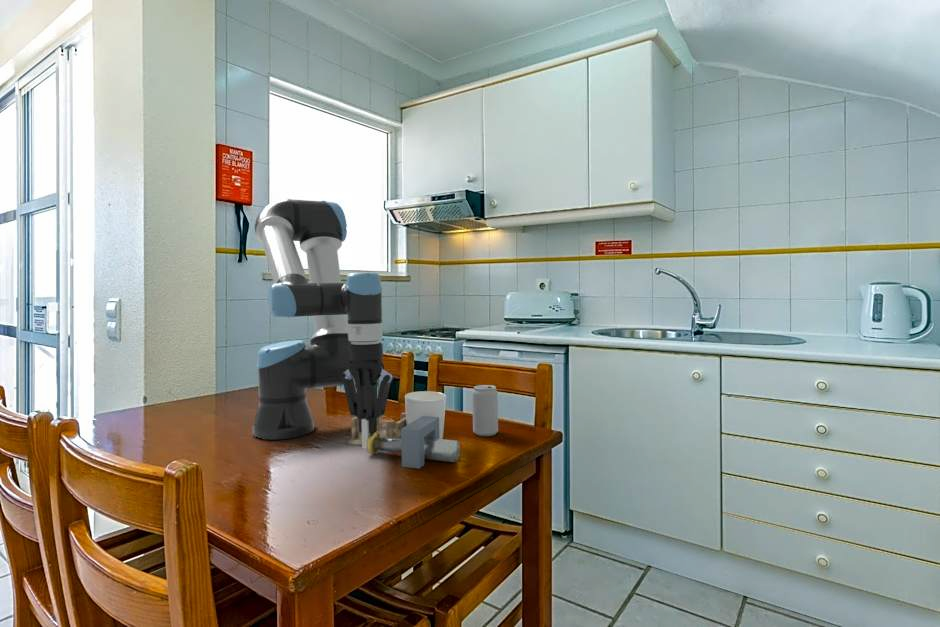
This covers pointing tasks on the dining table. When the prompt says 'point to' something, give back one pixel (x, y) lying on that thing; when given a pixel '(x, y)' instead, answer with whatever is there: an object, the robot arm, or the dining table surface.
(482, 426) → the beverage can
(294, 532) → the dining table surface
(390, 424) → the cradle
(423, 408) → the white cup
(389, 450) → the drift plunger
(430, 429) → the grey arch block
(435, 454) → the axle
